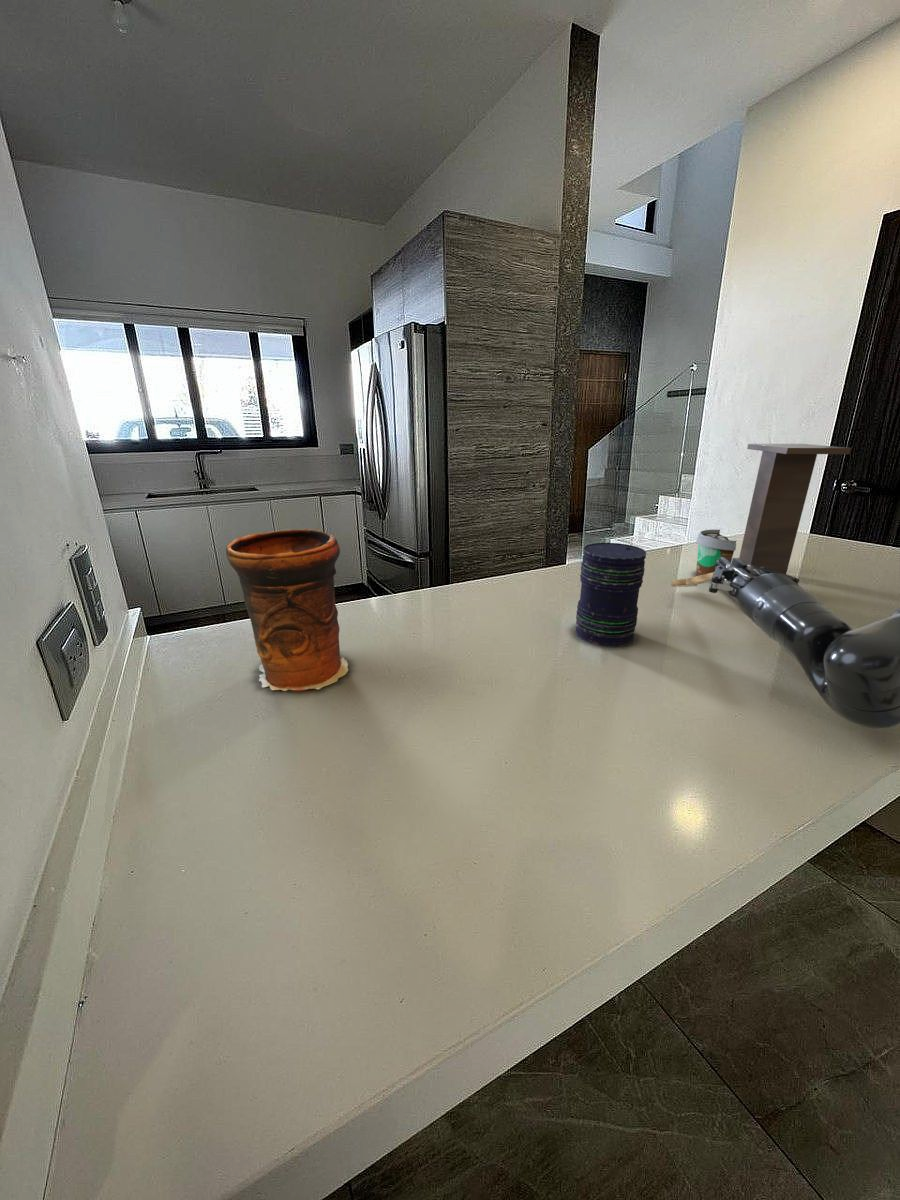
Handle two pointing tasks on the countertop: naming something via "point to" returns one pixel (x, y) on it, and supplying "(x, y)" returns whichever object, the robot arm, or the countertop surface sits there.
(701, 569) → the food container
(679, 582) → the wooden spoon
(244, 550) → the vessel
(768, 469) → the brown pedestal stand
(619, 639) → the storage jar
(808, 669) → the robot arm
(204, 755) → the countertop surface
